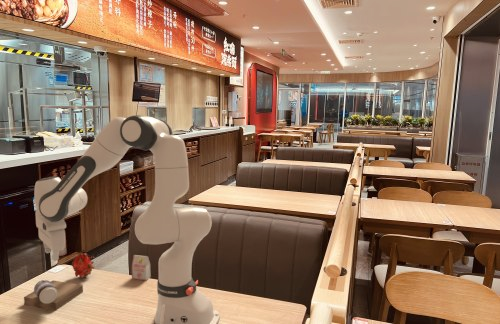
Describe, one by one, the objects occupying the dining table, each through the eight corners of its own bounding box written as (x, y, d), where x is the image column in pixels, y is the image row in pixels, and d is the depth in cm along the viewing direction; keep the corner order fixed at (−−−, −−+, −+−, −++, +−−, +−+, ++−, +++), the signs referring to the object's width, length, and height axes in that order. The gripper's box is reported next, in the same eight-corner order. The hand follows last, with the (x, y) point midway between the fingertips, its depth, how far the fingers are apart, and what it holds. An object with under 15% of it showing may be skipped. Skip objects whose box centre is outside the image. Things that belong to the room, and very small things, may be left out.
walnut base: (83, 293, 145) (82, 285, 145) (56, 311, 132) (55, 302, 132) (53, 288, 149) (53, 280, 148) (24, 306, 135) (23, 297, 135)
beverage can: (36, 298, 125) (25, 286, 133) (50, 310, 129) (39, 298, 137) (51, 283, 128) (40, 273, 136) (65, 295, 132) (53, 284, 140)
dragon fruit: (86, 282, 153) (85, 255, 151) (67, 281, 154) (66, 253, 152) (98, 274, 161) (96, 247, 160) (80, 272, 163) (78, 246, 161)
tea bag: (136, 275, 161) (136, 253, 160) (150, 276, 160) (150, 255, 158) (132, 278, 158) (131, 256, 156) (146, 280, 156) (145, 258, 155)
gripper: (32, 215, 141) (35, 250, 143) (48, 228, 126) (50, 266, 128) (50, 213, 145) (52, 246, 147) (67, 224, 131) (69, 262, 132)
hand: (51, 256), depth 138 cm, fingers open, 8 cm apart
